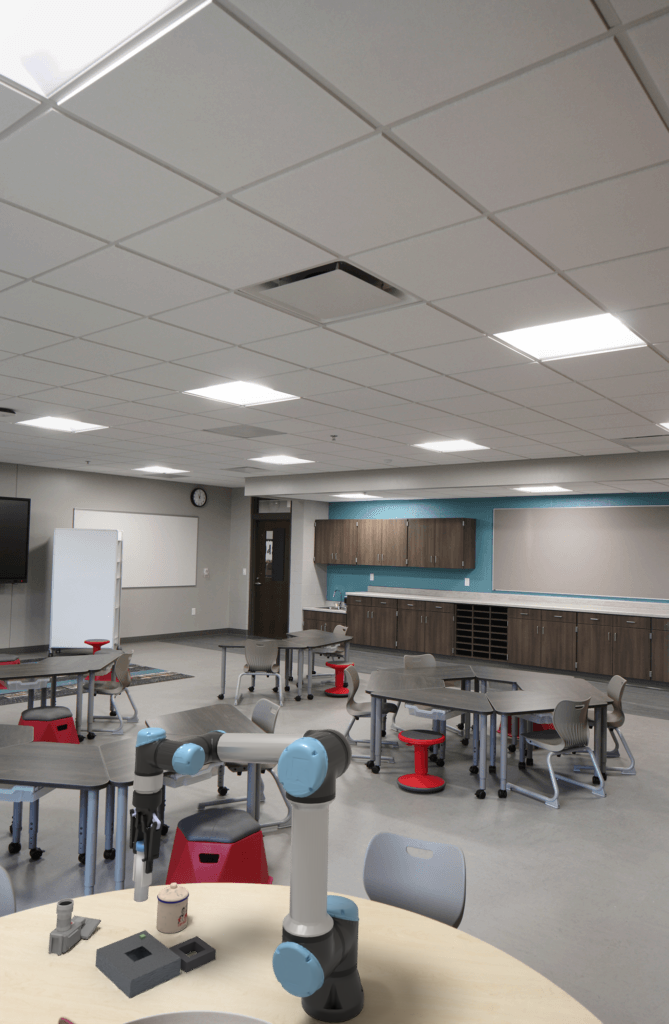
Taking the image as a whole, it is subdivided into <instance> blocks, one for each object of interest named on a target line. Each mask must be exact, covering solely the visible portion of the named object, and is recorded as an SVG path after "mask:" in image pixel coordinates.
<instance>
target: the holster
mask: <svg viewBox="0 0 669 1024" xmlns="http://www.w3.org/2000/svg"><path fill="white" fill-rule="evenodd" d="M168 948H169V949H170V950H171V951H173V952H174V953H175V954H177V955H178V956H179V957H180V958H181V969H180V970H181V971H183V972H184V973H186V974H188V973H190V972H192V971H194V970H196V969H198V968H200V967H202V966H205V965H207V964H209V963H211V962H214V961H216V957H217V955H216V954H217V952H216V951H217V949H215V947H213V946H212V945H210V944H209V943H207V942H206V941H205V940H204V939H202V938H201V937H199V936H197V935H196V936H193V937H192V938H188V939H187V940H184V941H182V942H179V943H178V944H175V945H172V946H170V947H168ZM194 952H195V953H194ZM191 953H194V954H193V955H190V956H189V954H191Z"/></svg>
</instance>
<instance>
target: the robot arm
mask: <svg viewBox="0 0 669 1024" xmlns="http://www.w3.org/2000/svg"><path fill="white" fill-rule="evenodd" d="M134 755H135V758H134V770H133V771H134V772H133V785H132V789H133V790H132V799H131V802H132V804H131V805H132V806H133V808H131V809H129V819H130V823H129V825H130V826H129V845H128V847H129V849H130V850H131V849H132V853H133V863H132V864H133V865H132V866H133V867H132V882H135V873H136V857H137V850H136V842H137V841H140V840H143V839H144V859H142V871H141V887H145V886H148V885H149V886H150V885H152V884H153V883H152V881H153V872H154V871H153V870H154V868H153V867H154V860H157V859H159V858H160V857H159V856H160V850H161V849H160V848H161V838H162V837H161V836H162V829H163V826H164V820H163V819H159V817H158V807H159V806H161V804H162V802H163V789H162V788H163V782H164V781H163V780H164V772H166V771H167V772H171V773H175V774H179V775H182V776H186V775H187V776H195V775H197V774H198V773H199V772H200V770H202V768H203V767H204V765H206V764H209V763H243V764H245V763H246V764H267V765H268V764H269V765H277V771H276V772H277V778H278V781H279V784H281V785H282V789H283V790H284V791H285V799H286V800H287V802H288V803H289V804H290V805H291V828H290V829H291V833H290V838H291V839H290V842H291V843H290V872H289V873H290V874H289V875H290V876H289V879H290V880H289V913H287V914H286V915H285V916H284V917H283V919H282V925H281V926H282V929H281V931H282V932H281V943H280V944H278V946H277V947H276V948H275V950H274V952H273V955H272V960H271V961H272V970H273V974H274V975H275V979H276V980H277V982H279V984H280V985H281V987H282V989H284V990H285V991H286V992H287V993H288V994H289V995H292V996H294V997H298V998H301V1000H300V1002H301V1006H302V1008H303V1010H304V1012H306V1014H308V1015H309V1016H311V1017H312V1018H314V1019H316V1020H319V1021H323V1022H328V1023H340V1022H345V1021H349V1020H351V1019H353V1018H355V1017H356V1016H357V1015H359V1014H360V1013H361V1012H362V1010H363V1009H364V1003H365V993H364V991H365V990H364V988H363V985H362V981H361V978H360V977H361V976H360V972H359V970H358V961H359V960H358V959H359V955H358V952H359V927H360V926H359V924H360V923H359V922H360V918H359V908H358V904H357V903H356V902H355V901H354V900H352V899H350V898H349V897H345V896H340V895H335V894H334V895H332V894H328V882H329V881H328V876H329V875H328V873H329V872H328V871H329V870H328V869H329V867H328V866H329V830H330V829H329V828H330V827H329V822H330V821H329V819H330V813H329V812H330V805H331V804H332V803H333V802H334V801H335V800H336V792H337V788H336V786H337V784H336V783H337V780H338V778H340V777H341V776H343V775H344V774H345V773H346V772H347V771H348V768H349V767H350V765H351V762H352V757H353V756H352V755H353V752H352V747H351V744H350V741H349V740H348V739H347V737H346V736H345V735H344V734H343V733H341V732H340V731H339V730H336V729H332V728H323V729H307V730H305V731H304V733H256V732H254V733H253V732H250V733H248V732H243V733H242V732H226V731H225V730H222V729H217V730H211V731H209V732H206V733H204V734H200V735H197V736H194V737H191V738H187V739H183V740H181V741H179V740H172V739H168V738H167V731H166V729H163V728H162V727H147V728H146V727H145V728H142V729H140V730H139V731H138V732H137V735H136V742H135V753H134Z"/></svg>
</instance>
